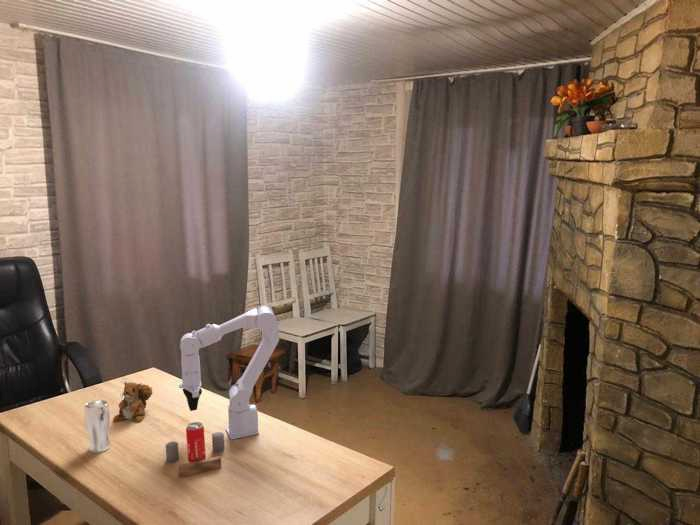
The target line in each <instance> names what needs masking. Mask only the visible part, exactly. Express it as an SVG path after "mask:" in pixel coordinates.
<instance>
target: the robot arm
mask: <svg viewBox="0 0 700 525" xmlns="http://www.w3.org/2000/svg"><path fill="white" fill-rule="evenodd" d="M256 326H257V328H258V329H259V331H260V332H261V333H262V336H263V338H262V340H261V341H260V343H259V345H258V347H257V348H256V350H255V352H254V354H253V355H252V357H251V359H250V361H249V363H248V365H247V367H246V368H245V370H244V372H243V373H242V376H241V377H240V378H239V379H237V381H236V382H235V384H233V385H232V386H231V387H230V388H229V390H228V397H229V405H228V406H227V411H228V427H226V428H225V430H226V433H227V435H228V436H229V438H230V440H236V439H240V438H245V437H250V436H253V435H258V434H260V432H259V417H258V416H259V415H258V408H257V406H256V404H250V398H251V397H252V395H253V390H254V387H255V384H256V383H257V381H258V379H259V378H260V375H261V373H262V372H263V370H264V368H265V367H266V365H267V363H268V361H269V360H270V358H271V356H272V354H273V353H274V350H275V349H276V347H277V345H278V344H279V342H280V332H279V323H278V321H277V317H276V316H275V313H274V311H273V308H271V307H269V305H259V307H257V308H256V307H255V308H252V309H250V310H249V311H246V312H245V313H242V314H240V315H238V316H236V317H234V318H231V319H230V320H228V321H226V322H223V323H222V324H219V325H218V324H215V323H213V324H210V323H207V324H206V325H205V326H204V327H203V328H201V329H198V330H193V331H191V332H187V333H185V334H184V335H183V336H182V337H181V339H180V344H179V349H180V351H181V352H180V355H181V358H180V364H181V378H182V379H181V380H182V383H178V388H179V389H182V392H183V394H184V396H185V398H186V402H187V405H188V409H189V411H190V412H193V411H197V409H198V406H199V400H200V397H201V395H202V394H203V393H202V392H203V390H202V388H201V387H202V381H201V380H202V379H201V378H202V377H201V362H200V360H201V359H200V355H199V350H200V349H203V348H205V347H208V346H210V345H212V344H215V343H217V342H219V341H221V340H222V337H223V336H224V335H227V334H229V333H232V332H234V331H238V330H239V329H242V328H245V327H247V328H250V329H256Z"/></svg>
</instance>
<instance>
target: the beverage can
mask: <svg viewBox="0 0 700 525" xmlns="http://www.w3.org/2000/svg"><path fill="white" fill-rule="evenodd" d="M204 427H205V426H204V424H203V423H202V422H199V421H198V422H197V421H195V422H191V423H188V424H187V425H186V429H185V435H186V436H185V438H186V449H187V463H190V462H195V461H199V460H203V459H207V457H206V442H205V440H206V439H205V428H204Z"/></svg>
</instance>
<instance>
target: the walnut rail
mask: <svg viewBox="0 0 700 525" xmlns="http://www.w3.org/2000/svg"><path fill="white" fill-rule="evenodd" d="M177 468H178V476H179V477H180V478H182V477H185V476H190V475H191V476H192V475H195V474H199V473H204V472H208V471H212V470H217V469H220V468H222V458H221V456H220V455H218V456H217V455H216V456H214V457H213V456H212V457H209V458H206V459H203V460H199V461H195V462H190V463H189V462H187V463H182V464H178V467H177Z"/></svg>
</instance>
